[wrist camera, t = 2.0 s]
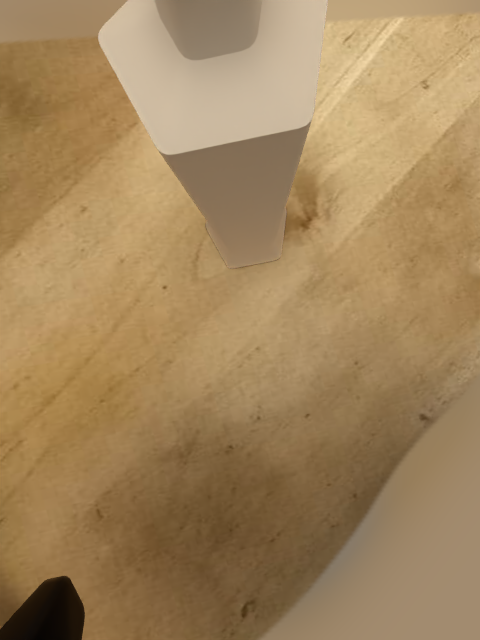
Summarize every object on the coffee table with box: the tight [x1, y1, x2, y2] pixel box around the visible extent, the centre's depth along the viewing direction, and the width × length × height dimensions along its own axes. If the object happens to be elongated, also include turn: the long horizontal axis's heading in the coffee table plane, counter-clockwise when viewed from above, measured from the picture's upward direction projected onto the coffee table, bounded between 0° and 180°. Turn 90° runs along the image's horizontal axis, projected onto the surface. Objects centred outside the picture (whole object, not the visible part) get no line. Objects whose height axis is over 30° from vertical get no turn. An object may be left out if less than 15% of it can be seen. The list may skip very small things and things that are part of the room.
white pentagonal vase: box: [98, 0, 328, 269], centre depth 13 cm, size 5×4×15 cm
